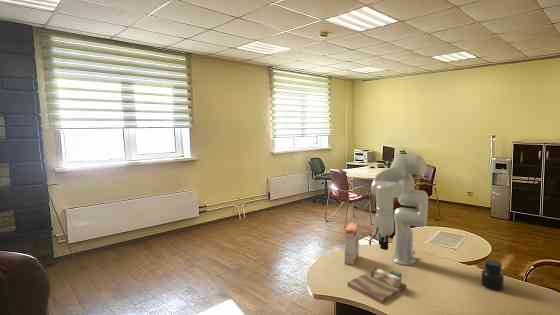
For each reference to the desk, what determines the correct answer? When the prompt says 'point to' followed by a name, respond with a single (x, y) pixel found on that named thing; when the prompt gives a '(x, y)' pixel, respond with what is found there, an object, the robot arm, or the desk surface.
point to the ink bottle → (492, 275)
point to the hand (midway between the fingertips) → (384, 248)
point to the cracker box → (351, 243)
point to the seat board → (376, 287)
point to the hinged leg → (386, 277)
